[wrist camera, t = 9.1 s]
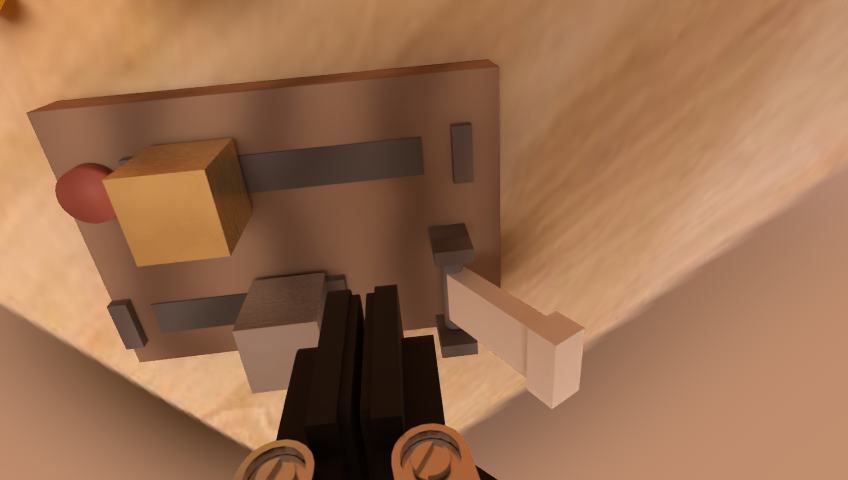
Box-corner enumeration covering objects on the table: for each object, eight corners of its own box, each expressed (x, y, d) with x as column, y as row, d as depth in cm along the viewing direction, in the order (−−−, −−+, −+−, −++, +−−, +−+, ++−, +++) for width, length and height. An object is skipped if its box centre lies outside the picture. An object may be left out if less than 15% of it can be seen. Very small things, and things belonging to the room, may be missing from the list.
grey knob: (324, 272, 28) (316, 321, 24) (336, 329, 30) (330, 383, 26) (252, 280, 27) (232, 331, 23) (268, 337, 29) (252, 393, 25)
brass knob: (232, 137, 24) (204, 169, 20) (252, 213, 26) (230, 256, 22) (147, 146, 24) (102, 180, 20) (174, 221, 25) (137, 266, 21)
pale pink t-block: (457, 247, 28) (585, 320, 21) (460, 311, 30) (578, 396, 23) (431, 258, 27) (556, 338, 20) (436, 324, 29) (551, 415, 22)
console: (488, 59, 26) (514, 77, 21) (492, 296, 33) (512, 350, 28) (57, 101, 25) (-19, 130, 20) (155, 335, 32) (117, 399, 27)
